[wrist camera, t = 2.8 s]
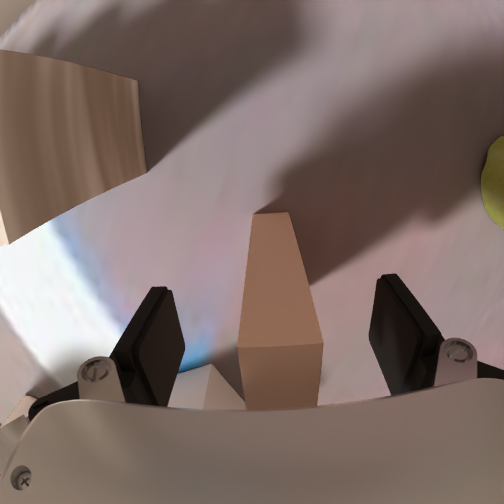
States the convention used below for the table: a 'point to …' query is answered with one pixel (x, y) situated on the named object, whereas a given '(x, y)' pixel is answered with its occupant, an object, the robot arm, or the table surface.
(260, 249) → the domino
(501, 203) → the plant pot
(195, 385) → the white cube
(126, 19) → the table surface
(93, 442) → the robot arm
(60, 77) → the domino
